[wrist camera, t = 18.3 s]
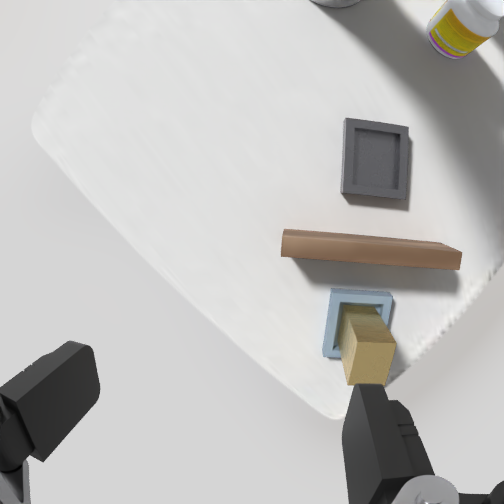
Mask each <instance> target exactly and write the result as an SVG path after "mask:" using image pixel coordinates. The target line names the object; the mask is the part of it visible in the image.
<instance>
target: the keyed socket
mask: <svg viewBox="0 0 504 504" xmlns="http://www.w3.org/2000/svg"><path fill="white" fill-rule="evenodd" d="M392 299H393V296H392V295H391V294H390V293H389V292H378V291H362V290H347V289H332V288H331V294H330V301H329V309H328V316H327V323H326V330H325V336H324V343H323V349H322V351H323V357H337V358H341V355H340V350H339V346H338V342H337V340H338V334H339V328H340V323H341V317H342V311H343V305H356V306H371V307H375V308H376V310H377V312H378V313H379V315H380V317H381V318H382V320H383V321H384V323H385V325H386V326H387V325H388V320H389V315H390V310H391V305H392Z"/></svg>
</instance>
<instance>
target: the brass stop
mask: <svg viewBox="0 0 504 504" xmlns="http://www.w3.org/2000/svg"><path fill="white" fill-rule="evenodd" d="M337 342H338V346H339V350H340V355H341V359H342V363H343V367H344V371H345V376H346V380H347V385H355V384H356V383H369V384H382V385H383V386H385V383H386V380H387V377H388V373H389V370H390V366H391V363H392V359H393V355H394V352H395V348H396V344H397V343H396V341H395V340H394V338H393V336H392V335H391V333H390V331H389V330H388V328H387V326H386V325H385V323H384V321H383V320H382V318H381V317H380V315H379V313H378V312H377V310H376V308H375V307H371V306H356V305H343V311H342V317H341V323H340V328H339V334H338V340H337Z"/></svg>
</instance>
